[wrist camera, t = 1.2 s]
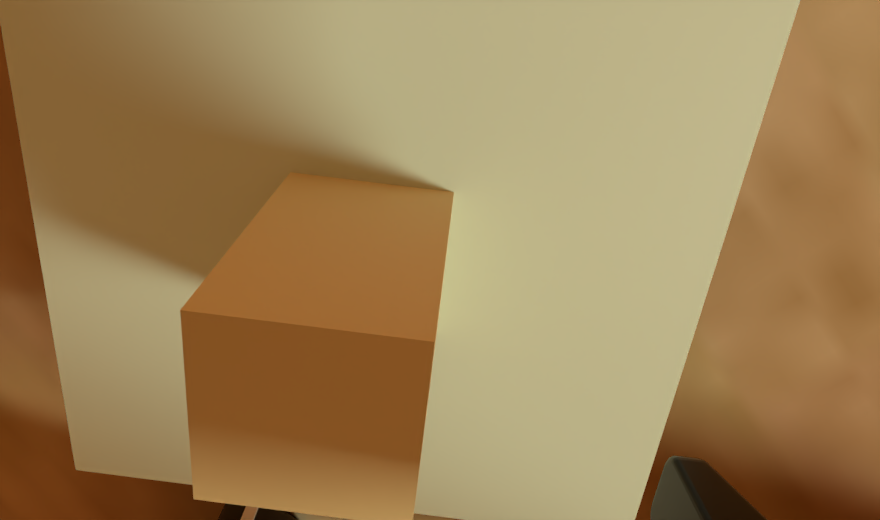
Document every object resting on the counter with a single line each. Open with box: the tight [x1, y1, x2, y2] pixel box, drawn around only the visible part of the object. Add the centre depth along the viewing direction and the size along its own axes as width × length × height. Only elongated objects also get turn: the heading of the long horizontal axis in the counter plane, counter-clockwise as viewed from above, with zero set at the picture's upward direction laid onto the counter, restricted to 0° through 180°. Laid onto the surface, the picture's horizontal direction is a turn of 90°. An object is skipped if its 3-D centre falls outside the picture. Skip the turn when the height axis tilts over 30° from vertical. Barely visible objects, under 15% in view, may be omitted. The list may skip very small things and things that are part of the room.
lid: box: [0, 0, 800, 520], centre depth 11 cm, size 13×13×6 cm
